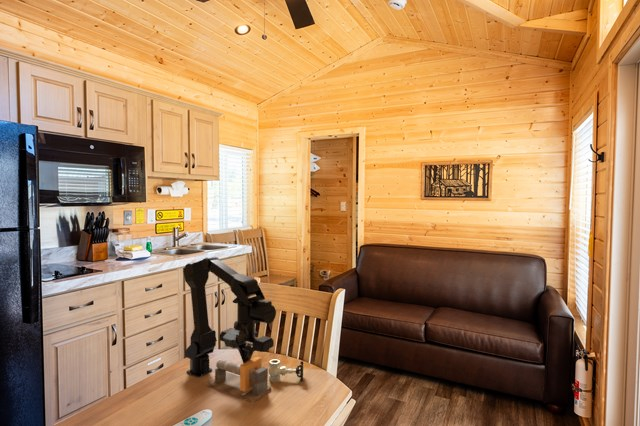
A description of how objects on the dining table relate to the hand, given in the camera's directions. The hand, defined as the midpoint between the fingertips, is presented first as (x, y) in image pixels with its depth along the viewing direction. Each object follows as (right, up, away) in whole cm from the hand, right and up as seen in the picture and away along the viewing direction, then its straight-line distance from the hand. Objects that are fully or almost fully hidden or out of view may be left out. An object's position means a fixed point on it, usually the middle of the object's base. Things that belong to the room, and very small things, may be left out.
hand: (245, 365), depth 124 cm
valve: (+12, -9, +8) cm, 17 cm away
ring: (+2, -6, -1) cm, 7 cm away
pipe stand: (-3, -8, +2) cm, 9 cm away
